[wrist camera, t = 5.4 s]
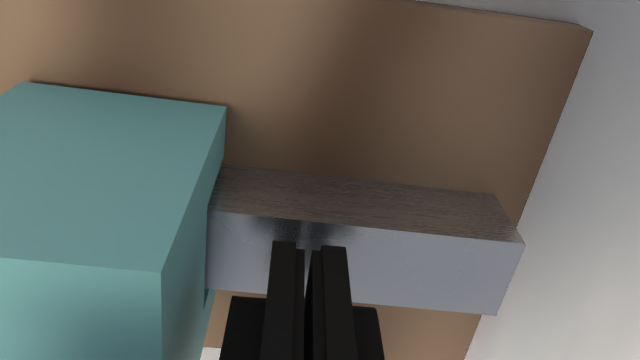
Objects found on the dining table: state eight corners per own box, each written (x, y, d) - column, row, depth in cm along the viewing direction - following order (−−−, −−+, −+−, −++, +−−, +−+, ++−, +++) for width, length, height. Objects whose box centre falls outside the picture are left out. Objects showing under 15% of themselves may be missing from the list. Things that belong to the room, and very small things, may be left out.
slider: (226, 106, 13) (160, 273, 7) (217, 287, 16) (164, 506, 10) (21, 81, 12) (-220, 236, 7) (50, 271, 15) (-102, 491, 10)
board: (578, 24, 13) (593, 31, 12) (454, 350, 19) (460, 368, 18) (-460, -126, 11) (-512, -128, 10) (-243, 290, 17) (-267, 307, 16)
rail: (494, 194, 15) (525, 244, 13) (471, 259, 16) (495, 315, 14) (-300, 104, 13) (-418, 144, 11) (-261, 185, 14) (-361, 235, 12)
